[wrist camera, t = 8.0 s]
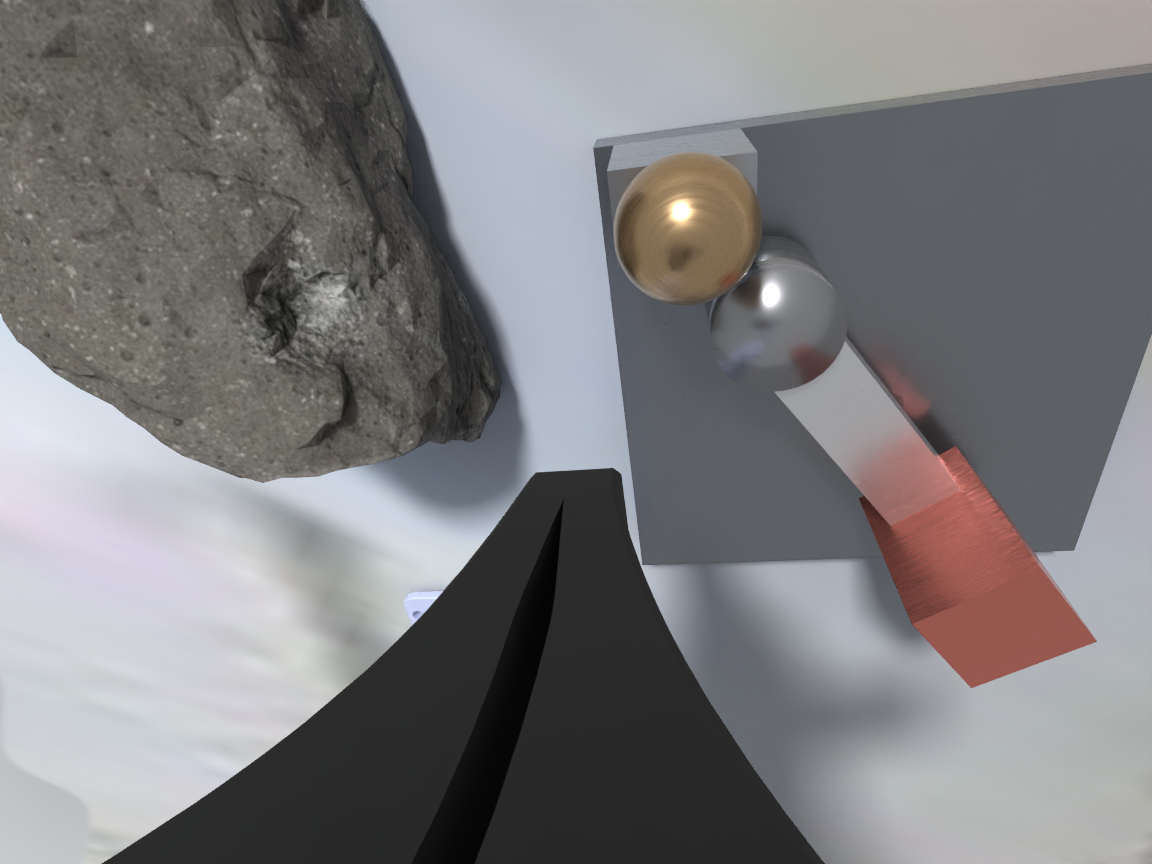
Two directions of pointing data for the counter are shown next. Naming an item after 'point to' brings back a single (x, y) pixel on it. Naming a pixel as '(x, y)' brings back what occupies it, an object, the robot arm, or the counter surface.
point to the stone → (229, 233)
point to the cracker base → (887, 301)
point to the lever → (895, 473)
